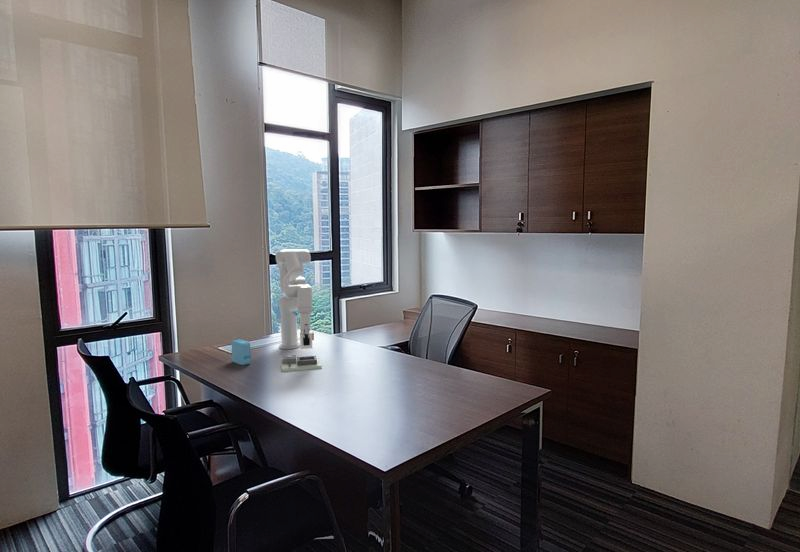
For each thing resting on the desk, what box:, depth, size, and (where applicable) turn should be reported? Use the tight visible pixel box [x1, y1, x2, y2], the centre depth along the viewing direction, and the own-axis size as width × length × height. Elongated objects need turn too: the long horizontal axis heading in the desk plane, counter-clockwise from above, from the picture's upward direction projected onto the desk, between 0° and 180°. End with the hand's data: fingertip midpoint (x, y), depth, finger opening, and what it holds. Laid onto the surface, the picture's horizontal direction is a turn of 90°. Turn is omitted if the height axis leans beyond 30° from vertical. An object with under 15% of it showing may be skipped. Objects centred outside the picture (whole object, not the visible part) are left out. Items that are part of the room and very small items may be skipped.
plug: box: [299, 331, 315, 350], centre depth 250 cm, size 4×7×8 cm, turn 104°
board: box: [281, 354, 323, 373], centre depth 252 cm, size 16×20×5 cm
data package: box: [230, 338, 252, 366], centre depth 259 cm, size 12×4×12 cm, turn 48°
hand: (306, 343), depth 250 cm, fingers closed on plug, 4 cm apart
